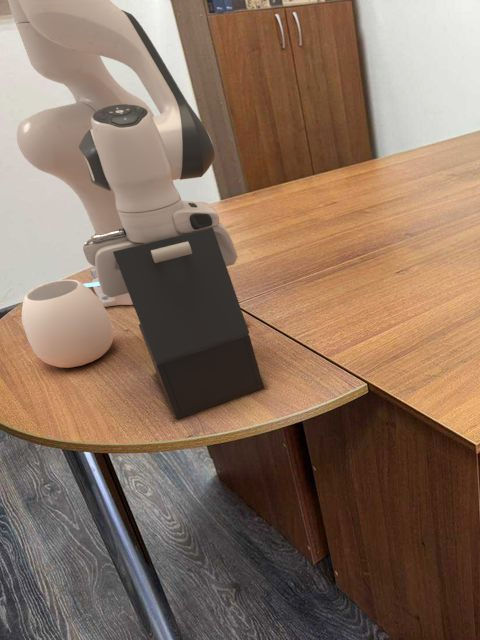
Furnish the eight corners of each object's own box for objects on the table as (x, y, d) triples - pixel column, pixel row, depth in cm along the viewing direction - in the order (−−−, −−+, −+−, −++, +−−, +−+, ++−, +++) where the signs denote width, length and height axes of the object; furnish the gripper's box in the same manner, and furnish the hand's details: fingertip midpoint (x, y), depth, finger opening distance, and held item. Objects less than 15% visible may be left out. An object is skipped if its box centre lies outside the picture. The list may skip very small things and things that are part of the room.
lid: (112, 251, 91) (112, 249, 87) (212, 227, 97) (216, 224, 93) (155, 362, 95) (157, 365, 90) (248, 333, 101) (254, 334, 96)
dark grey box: (157, 374, 111) (138, 324, 106) (237, 348, 117) (222, 299, 112) (176, 419, 100) (156, 365, 95) (264, 388, 106) (249, 335, 101)
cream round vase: (30, 360, 118) (-3, 294, 111) (103, 331, 126) (77, 267, 120) (57, 385, 111) (24, 315, 104) (133, 351, 119) (107, 285, 112)
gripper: (80, 245, 90) (114, 331, 98) (228, 211, 99) (249, 292, 107) (76, 232, 95) (109, 315, 102) (217, 201, 104) (238, 279, 111)
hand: (181, 303), depth 104 cm, fingers open, 8 cm apart
